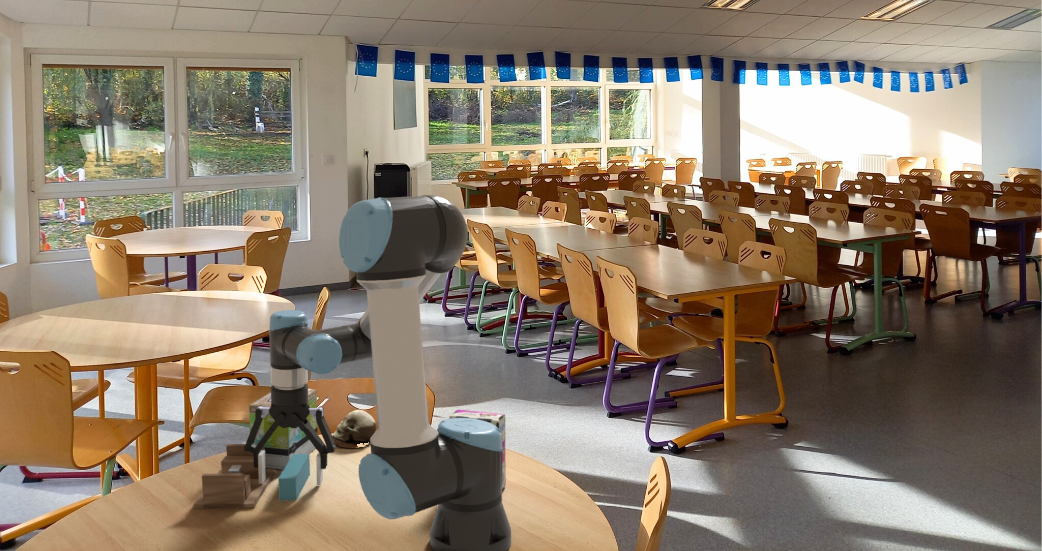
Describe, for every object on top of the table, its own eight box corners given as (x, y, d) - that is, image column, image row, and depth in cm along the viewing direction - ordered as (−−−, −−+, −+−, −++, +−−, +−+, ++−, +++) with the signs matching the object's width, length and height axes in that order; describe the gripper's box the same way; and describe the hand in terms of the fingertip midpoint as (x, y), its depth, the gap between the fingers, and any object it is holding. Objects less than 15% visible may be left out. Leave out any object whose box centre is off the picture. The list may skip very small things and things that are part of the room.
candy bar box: (506, 486, 184) (506, 413, 181) (498, 495, 179) (499, 421, 176) (457, 479, 187) (457, 407, 184) (449, 488, 182) (448, 415, 180)
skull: (319, 443, 205) (331, 404, 210) (336, 459, 213) (347, 421, 218) (364, 447, 201) (376, 407, 207) (380, 463, 210) (390, 424, 215)
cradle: (254, 508, 173) (252, 475, 171) (193, 508, 172) (191, 475, 171) (275, 473, 189) (273, 443, 188) (220, 474, 189) (218, 444, 188)
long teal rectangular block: (296, 501, 177) (295, 478, 176) (279, 501, 176) (278, 478, 176) (310, 475, 189) (309, 454, 188) (294, 475, 189) (293, 454, 188)
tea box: (290, 471, 191) (288, 408, 188) (249, 467, 193) (246, 404, 190) (319, 446, 206) (317, 387, 203) (280, 443, 208) (278, 384, 205)
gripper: (349, 379, 183) (349, 475, 187) (236, 377, 182) (239, 473, 186) (343, 391, 175) (344, 490, 180) (226, 388, 174) (229, 488, 179)
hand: (291, 482), depth 183 cm, fingers open, 11 cm apart
